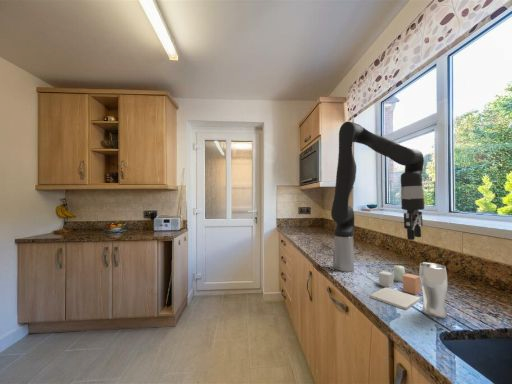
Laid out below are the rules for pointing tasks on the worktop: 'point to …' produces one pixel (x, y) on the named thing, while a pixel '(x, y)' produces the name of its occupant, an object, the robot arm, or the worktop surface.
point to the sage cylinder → (399, 273)
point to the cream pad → (395, 298)
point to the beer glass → (433, 289)
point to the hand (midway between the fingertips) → (414, 238)
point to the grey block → (386, 279)
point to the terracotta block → (411, 283)
